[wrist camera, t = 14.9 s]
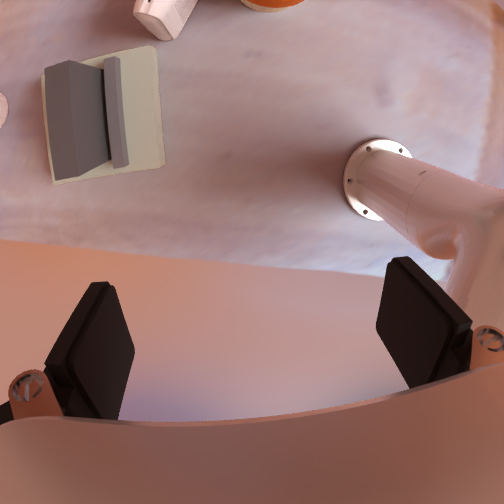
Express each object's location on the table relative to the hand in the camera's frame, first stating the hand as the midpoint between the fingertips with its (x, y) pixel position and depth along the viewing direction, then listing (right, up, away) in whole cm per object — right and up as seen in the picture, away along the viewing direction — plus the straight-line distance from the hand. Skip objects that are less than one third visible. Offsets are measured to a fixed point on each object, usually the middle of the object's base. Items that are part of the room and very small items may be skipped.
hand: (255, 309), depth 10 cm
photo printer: (-10, +34, +21) cm, 41 cm away
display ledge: (-20, +21, +26) cm, 39 cm away
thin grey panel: (-20, +19, +23) cm, 36 cm away
